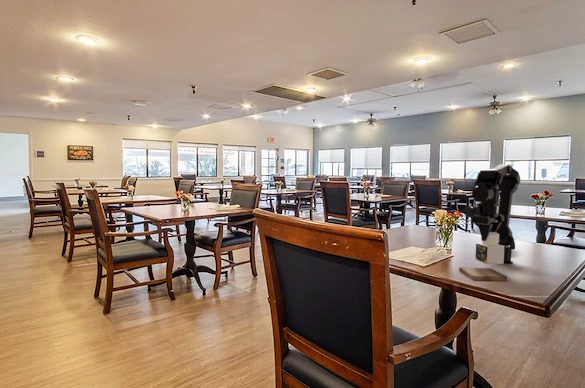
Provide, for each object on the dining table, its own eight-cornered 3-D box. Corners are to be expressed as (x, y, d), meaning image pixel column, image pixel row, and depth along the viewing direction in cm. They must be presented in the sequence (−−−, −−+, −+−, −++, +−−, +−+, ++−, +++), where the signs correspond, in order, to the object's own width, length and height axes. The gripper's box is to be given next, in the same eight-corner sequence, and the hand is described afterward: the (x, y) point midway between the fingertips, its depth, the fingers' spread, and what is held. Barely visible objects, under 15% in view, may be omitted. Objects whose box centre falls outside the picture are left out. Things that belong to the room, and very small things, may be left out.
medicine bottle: (475, 259, 137) (476, 230, 136) (491, 259, 138) (492, 230, 137) (486, 264, 130) (487, 233, 129) (504, 264, 130) (505, 233, 130)
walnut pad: (489, 271, 135) (489, 267, 135) (506, 280, 123) (506, 276, 123) (459, 270, 136) (459, 267, 136) (472, 279, 124) (473, 275, 124)
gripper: (476, 199, 146) (474, 235, 146) (457, 200, 133) (456, 239, 134) (505, 200, 137) (503, 238, 138) (488, 202, 125) (486, 243, 126)
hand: (487, 240), depth 134 cm, fingers closed on medicine bottle, 6 cm apart
